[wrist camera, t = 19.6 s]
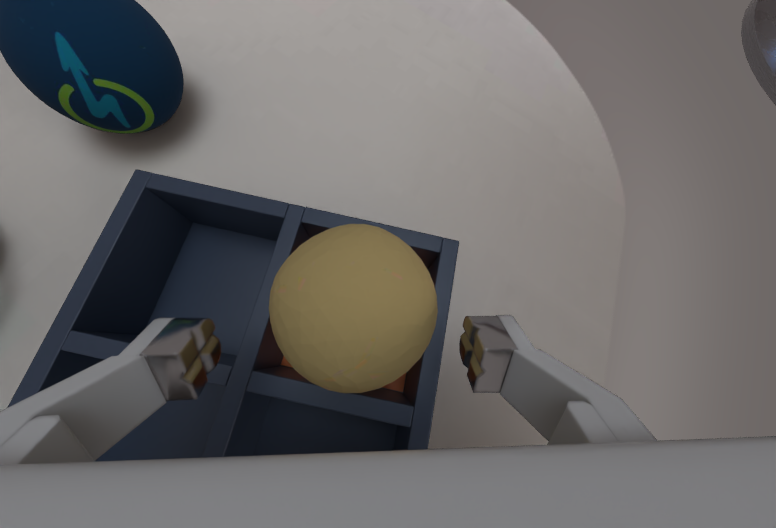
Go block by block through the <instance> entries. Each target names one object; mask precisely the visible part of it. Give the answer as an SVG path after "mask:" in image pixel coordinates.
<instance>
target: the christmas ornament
mask: <svg viewBox="0 0 776 528" xmlns="http://www.w3.org/2000/svg"><path fill="white" fill-rule="evenodd" d="M0 51H1V53H2V55H3V57H4V59H5V60H6V62H7V63H8V65H9V66H10V68H11V69H12V71H13V72H14V73H15V75H16V76H17V77H18V78H19V80H20V81H21V82H22V83H23V84H24V85H25V86H26V87H27V88H28V89H29V90H30V91H31V92H32V93H33V94H34V95H35V96H37V97H38V98H39V99H40V100H41V101H43V102H44V103H45V104H47V105H48V106H49V107H51V108H52V109H54V110H56V111H57V112H59V113H60V114H62V115H64V116H66V117H68V118H70V119H72V120H74V121H76V122H78V123H80V124H83V125H86V126H89V127H91V128H95V129H98V130H102V131H107V132H114V133H139V132H144V131H148V130H151V129H154V128H156V127H158V126H160V125H162V124H163V123H165V122H166V121H167V120H169V119H170V118H171V117H172V115H173V114H174V113H175V111H176V110H177V108H178V106H179V104H180V102H181V99H182V94H183V73H182V68H181V64H180V61H179V58H178V55H177V53H176V51H175V49H174V47H173V45H172V43H171V41H170V39H169V38H168V36H167V35H166V33H165V32H164V30H163V29H162V28H161V26H160V25H159V24H158V23H157V22H156V20H155V19H154V18H153V17H152V16H151V15H150V14H149V13H148V12H147V11H146V10H145V9H144V8H143V7H142V6H141V5H140V4H139V3H137V2H136V1H135V0H0Z"/></svg>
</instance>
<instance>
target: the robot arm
mask: <svg viewBox="0 0 776 528" xmlns="http://www.w3.org/2000/svg"><path fill="white" fill-rule="evenodd" d="M463 327H464V330H465V332H464V333H463V334H462V335H461V338H460V356H461V359H462V362H463V365H465V366H466V367H467V368H468V373H467V377H468V379H469V382H470V385H471V387H472V390H473V393H500V395H501V396H502V397H503V398H504V399H505V400H507V401H508V402H509V403H510V404H511V405H512V406H513V407H514V408H515V409H516V410H517V411H518V412H519V413H520V414H521V415H522V416H523V417H524V418H525V419H526V420H527V421H528V422H529V423H530V424H531V425H532V426H533V427H534V428H535V429H536V430H537V431H538V432H539V433H540V434H541V435H542V436H543V437H545V438H546V439H547V440H548V441H549V442H548V444H547V445H528V446H501V447H473V448H447V449H421V450H395V451H369V452H342V453H314V454H287V455H259V456H232V457H205V458H178V459H151V460H124V461H97V462H96V461H95V460H96V459H98V458H99V457H100V456H101V455H103V454H104V453H105V452H106V451H108V450H109V449H110V448H111V447H112V446H114V445H115V444H116V443H117V442H119V441H120V440H121V439H122V438H124V437H125V436H126V435H127V434H128V433H130V432H131V431H132V430H133V429H135V428H136V427H137V426H138V425H140V424H141V423H142V422H143V421H145V420H146V419H147V418H148V417H149V416H151V415H152V414H153V413H154V412H156V411H157V410H158V409H159V408H161V407H162V406H163V405H164V404H165V403H166V401H177V400H197V399H198V397H199V395H200V394H201V392H202V390H203V389H204V387H205V385H206V383H207V382H208V379H207V374H208V373H210V372H211V371H213V370H214V369H215V368H216V366H217V364H218V362H219V360H220V355H221V343H220V340H219V338H217V337H216V336H215V335H214V334H212V333H213V332H214V330H215V329H216V327H215V325H214V322H213V320H212V319H210V318H158V319H155V320H153V321H152V322H151V323H150V324H149V325H148V326H147V327H146V328H145V329H144V330H143V331H142V332H141V333H140V334H139V335H138V336H137V337H136V338H135V339H134V340H133V341H132V342H131V343H130V344H129V345H128V346H127V347H126V348H125V349H124V350H123V351H122V352H121V353H120V354H119V355H118V356H111V357H109V358H107V359H105V360H103V361H101V362H99V363H97V364H95V365H93V366H91V367H89V368H87V369H85V370H83V371H81V372H79V373H77V374H75V375H73V376H71V377H69V378H67V379H65V380H63V381H61V382H59V383H57V384H55V385H53V386H51V387H49V388H46V389H44V390H42V391H40V392H38V393H36V394H34V395H32V396H30V397H28V398H26V399H24V400H22V401H20V402H18V403H16V404H14V405H12V406H10V407H8V408H6V409H4V410H2V411H0V528H776V436H770V437H769V436H768V437H744V438H720V439H719V438H717V439H693V440H665V441H657V440H656V438H655V437H654V436H653V435H652V434H651V433H650V431H649V430H648V429H647V428H646V427H645V425H644V424H643V423H642V422H641V421H640V420H639V418H638V417H637V416H636V415H635V414H634V413H633V411H632V410H631V409H630V408H629V407H628V405H627V404H626V403H625V402H624V401H623V400H622V399H621V398H619V397H618V396H616V395H615V394H613V393H611V392H610V391H608V390H607V389H605V388H603V387H602V386H600V385H598V384H597V383H595V382H593V381H592V380H590V379H588V378H587V377H585V376H583V375H582V374H580V373H578V372H577V371H575V370H574V369H572V368H570V367H569V366H567V365H565V364H564V363H562V362H560V361H559V360H557V359H555V358H554V357H552V356H550V355H549V354H547V353H546V352H544V351H542V350H541V349H535V348H534V346H533V345H532V343H531V342H530V340H529V339H528V337H527V336H526V334H525V333H524V331H523V330H522V329H521V327H520V326H519V324H518V323H517V321H516V320H515V318H514V317H513V316H511V315H496V316H466V317H465V319H464V323H463Z"/></svg>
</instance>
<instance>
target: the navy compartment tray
mask: <svg viewBox="0 0 776 528" xmlns="http://www.w3.org/2000/svg"><path fill="white" fill-rule="evenodd" d="M347 224H366V225H371V226H376V227H380V228H382V229H384V230H386V231H388V232H390V233H392V234H394V235H395V236H397V237H399V238H400V239H401V240H403V241H404V242H405V243H406V244H407V245H409V246H410V247H411V248H412V249H413V250H414V251H415V253H416V254H417V255H418V256H419V257H420V258H421V260H422V261H423V263H424V265H425V266H426V268H427V270H428V271H429V273H430V276H431V278H432V281H433V283H434V287H435V291H436V295H437V309H438V313H437V320H436V326H435V329H434V332H433V335H432V337H431V340H430V343H429V345H428V346H427V348H426V350H425V351H424V353H423V355H422V356H421V358H420V359H419V360H418V361H417V362H416V363H415V364H414V365H413V366H412V368H411V369H410V370H409V371H408V372H406V373H405V374H403V375H402V376H401V377H399V378H398V379H397V380H395V381H394V382H392V383H390V384H387V385H385V386H383V387H381V388H379V389H375V390H371V391H367V392H363V393H340V392H335V391H330V390H327V389H324V388H322V387H320V386H318V385H315V384H313V383H311V382H310V381H308V380H307V379H306V378H304V377H303V376H302V375H300V374H299V373H298V372H297V371H296V370H295V369H294V368H293V367H292V366H291V364H290V363H289V362H288V361H287V360H286V359H285V357H284V355H283V353H282V352H281V350H280V348H279V346H278V344H277V342H276V340H275V337H274V334H273V331H272V327H271V323H270V315H269V300H270V291H271V288H272V285H273V281H274V278H275V276H276V274H277V273H278V271H279V269H280V267H281V266H282V265H283V263H284V262H285V261H286V259H287V258H288V257H289V256H290V255H291V254H292V253H293V252H294V251H295V250H296V249H297V248H298V247H299V246H300V245H301V244H303V243H304V242H306V241H307V240H309V239H310V238H311V237H313V236H315V235H317V234H319V233H321V232H323V231H326V230H328V229H331V228H334V227H337V226H342V225H347ZM458 246H459V241H456V240H451V239H447V238H442V237H438V236H434V235H429V234H425V233H420V232H416V231H411V230H407V229H402V228H398V227H393V226H389V225H384V224H380V223H375V222H371V221H366V220H362V219H357V218H353V217H348V216H344V215H339V214H335V213H330V212H326V211H321V210H317V209H312V208H308V207H306V208H305V207H302V206H298V205H293V204H288V203H285V202H280V201H276V200H271V199H267V198H262V197H258V196H253V195H249V194H244V193H240V192H235V191H231V190H226V189H222V188H217V187H213V186H208V185H204V184H199V183H195V182H190V181H186V180H181V179H177V178H172V177H168V176H163V175H159V174H154V173H150V172H146V171H141V170H135V172H134V174H133V176H132V177H131V179H130V181H129V183H128V185H127V187H126V189H125V190H124V192H123V194H122V196H121V198H120V200H119V202H118V203H117V205H116V207H115V209H114V211H113V213H112V215H111V216H110V218H109V220H108V222H107V224H106V226H105V228H104V229H103V231H102V233H101V235H100V237H99V239H98V241H97V242H96V244H95V246H94V248H93V250H92V252H91V253H90V255H89V257H88V259H87V261H86V263H85V265H84V266H83V268H82V270H81V272H80V274H79V276H78V278H77V279H76V281H75V283H74V285H73V287H72V289H71V291H70V292H69V294H68V296H67V298H66V300H65V302H64V304H63V305H62V307H61V309H60V311H59V313H58V315H57V317H56V318H55V320H54V322H53V324H52V326H51V328H50V330H49V331H48V333H47V335H46V337H45V339H44V341H43V343H42V344H41V346H40V348H39V350H38V352H37V354H36V356H35V357H34V359H33V361H32V363H31V365H30V367H29V369H28V370H27V372H26V374H25V376H24V378H23V380H22V381H21V383H20V385H19V387H18V389H17V391H16V393H15V394H14V396H13V398H12V400H11V402H10V404H9V406H8V407H10V406H12V405H14V404H16V403H18V402H20V401H22V400H24V399H26V398H28V397H30V396H32V395H34V394H36V393H38V392H40V391H42V390H44V389H46V388H49V387H51V386H53V385H55V384H57V383H59V382H61V381H63V380H65V379H67V378H69V377H71V376H73V375H75V374H77V373H79V372H81V371H83V370H85V369H87V368H89V367H91V366H93V365H95V364H97V363H99V362H101V361H103V360H105V359H107V358H109V357H111V356H118V355H119V354H120V353H121V352H122V351H123V350H124V349H125V348H126V347H127V346H128V345H129V344H130V343H131V342H132V341H133V340H134V339H135V338H136V337H137V336H138V335H139V334H140V333H141V332H142V331H143V330H144V329H145V328H146V327H147V326H148V325H149V324H150V323H151V322H152V321H153V320H155V319H158V318H210V319H212V320H213V322H214V325H215V327H216V329H215V330H214V332H213V333H212V334H214V335H215V336H216V337H217V338H219V340H220V343H221V355H220V360H219V362H218V364H217V366H216V368H215V369H214V370H213V371H211V372H210V373H208V374H207V379H208V382H207V383H206V385H205V387H204V389H203V390H202V392H201V394H200V395H199V397H198V399H197V400H177V401H166V403H165V404H164V405H163V406H162V407H161V408H159V409H158V410H157V411H156V412H154V413H153V414H152V415H151V416H149V417H148V418H147V419H146V420H145V421H143V422H142V423H141V424H140V425H138V426H137V427H136V428H135V429H133V430H132V431H131V432H130V433H128V434H127V435H126V436H125V437H124V438H122V439H121V440H120V441H119V442H117V443H116V444H115V445H114V446H112V447H111V448H110V449H109V450H108V451H106V452H105V453H104V454H103V455H101V456H100V457H99V458H98V459H96V460H95V461H96V462H97V461H124V460H151V459H178V458H205V457H232V456H259V455H287V454H314V453H342V452H369V451H395V450H421V449H428V444H429V437H430V430H431V424H432V417H433V411H434V404H435V397H436V391H437V384H438V378H439V371H440V365H441V358H442V351H443V345H444V338H445V332H446V325H447V318H448V312H449V305H450V299H451V292H452V285H453V279H454V272H455V266H456V259H457V253H458ZM8 407H7V408H8Z"/></svg>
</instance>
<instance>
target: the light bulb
mask: <svg viewBox="0 0 776 528" xmlns="http://www.w3.org/2000/svg"><path fill="white" fill-rule="evenodd" d="M437 313H438V309H437V295H436V291H435V287H434V283H433V281H432V278H431V276H430V273H429V271H428V270H427V268H426V266H425V265H424V263H423V261H422V260H421V258H420V257H419V256H418V255H417V254H416V253H415V251H414V250H413V249H412V248H411V247H410V246H409V245H407V244H406V243H405V242H404V241H403V240H401V239H400V238H399V237H397V236H395V235H394V234H392V233H390V232H388V231H386V230H384V229H382V228H380V227H376V226H371V225H366V224H347V225H342V226H337V227H334V228H331V229H328V230H326V231H323V232H321V233H319V234H317V235H315V236H313V237H311V238H310V239H309V240H307V241H306V242H304V243H303V244H301V245H300V246H299V247H298V248H297V249H296V250H295V251H294V252H293V253H292V254H291V255H290V256H289V257H288V258H287V259H286V261H285V262H284V263H283V265H282V266H281V267H280V269H279V271H278V273H277V274H276V276H275V278H274V281H273V285H272V288H271V291H270V300H269V315H270V323H271V327H272V331H273V334H274V337H275V340H276V342H277V344H278V346H279V348H280V350H281V352H282V353H283V355H284V357H285V359H286V360H287V361H288V362H289V363H290V364H291V366H292V367H293V368H294V369H295V370H296V371H297V372H298V373H299V374H300V375H302V376H303V377H304V378H306V379H307V380H308V381H310V382H311V383H313V384H315V385H318V386H320V387H322V388H324V389H327V390H330V391H335V392H340V393H363V392H367V391H371V390H375V389H379V388H381V387H383V386H385V385H387V384H390V383H392V382H394V381H395V380H397V379H398V378H399V377H401V376H402V375H403V374H405V373H406V372H408V371H409V370H410V369H411V368H412V366H413V365H414V364H415V363H416V362H417V361H418V360H419V359H420V358H421V356H422V355H423V353H424V351H425V350H426V348H427V346H428V345H429V343H430V340H431V337H432V335H433V332H434V329H435V326H436V320H437Z"/></svg>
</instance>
